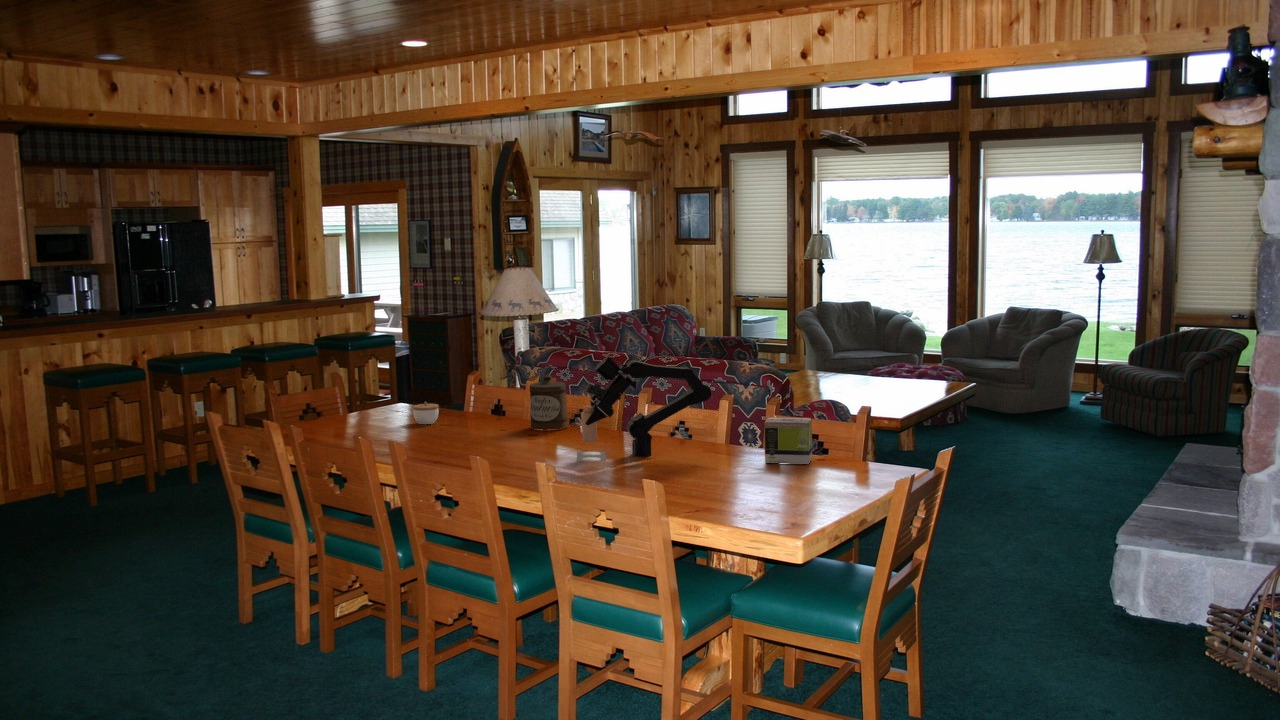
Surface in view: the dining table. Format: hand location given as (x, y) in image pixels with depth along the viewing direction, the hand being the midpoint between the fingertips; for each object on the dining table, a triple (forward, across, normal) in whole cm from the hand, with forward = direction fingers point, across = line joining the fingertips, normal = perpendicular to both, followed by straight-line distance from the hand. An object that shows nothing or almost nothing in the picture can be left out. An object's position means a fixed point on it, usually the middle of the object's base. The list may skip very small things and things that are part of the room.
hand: (585, 423), depth 351 cm
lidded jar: (+49, -88, -31) cm, 106 cm away
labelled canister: (+14, -65, +5) cm, 66 cm away
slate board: (+8, -2, +11) cm, 14 cm away
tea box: (-37, +20, +57) cm, 71 cm away
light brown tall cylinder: (+4, 0, +6) cm, 7 cm away
